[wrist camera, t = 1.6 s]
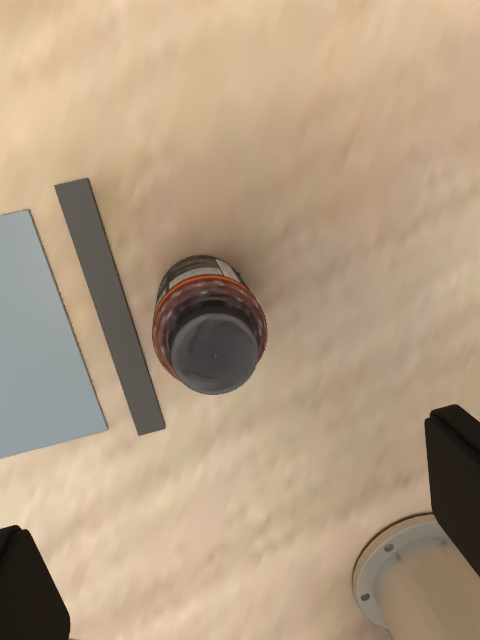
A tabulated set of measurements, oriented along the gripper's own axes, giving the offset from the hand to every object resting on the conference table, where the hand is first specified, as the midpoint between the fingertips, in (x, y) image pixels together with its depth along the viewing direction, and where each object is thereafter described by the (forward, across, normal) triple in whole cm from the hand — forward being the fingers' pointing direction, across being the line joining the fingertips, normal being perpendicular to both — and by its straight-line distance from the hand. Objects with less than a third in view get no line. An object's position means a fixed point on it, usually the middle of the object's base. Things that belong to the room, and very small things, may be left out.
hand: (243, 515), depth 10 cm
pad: (+22, +14, 0) cm, 26 cm away
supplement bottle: (+22, 0, 0) cm, 22 cm away
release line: (+21, +6, 0) cm, 22 cm away
